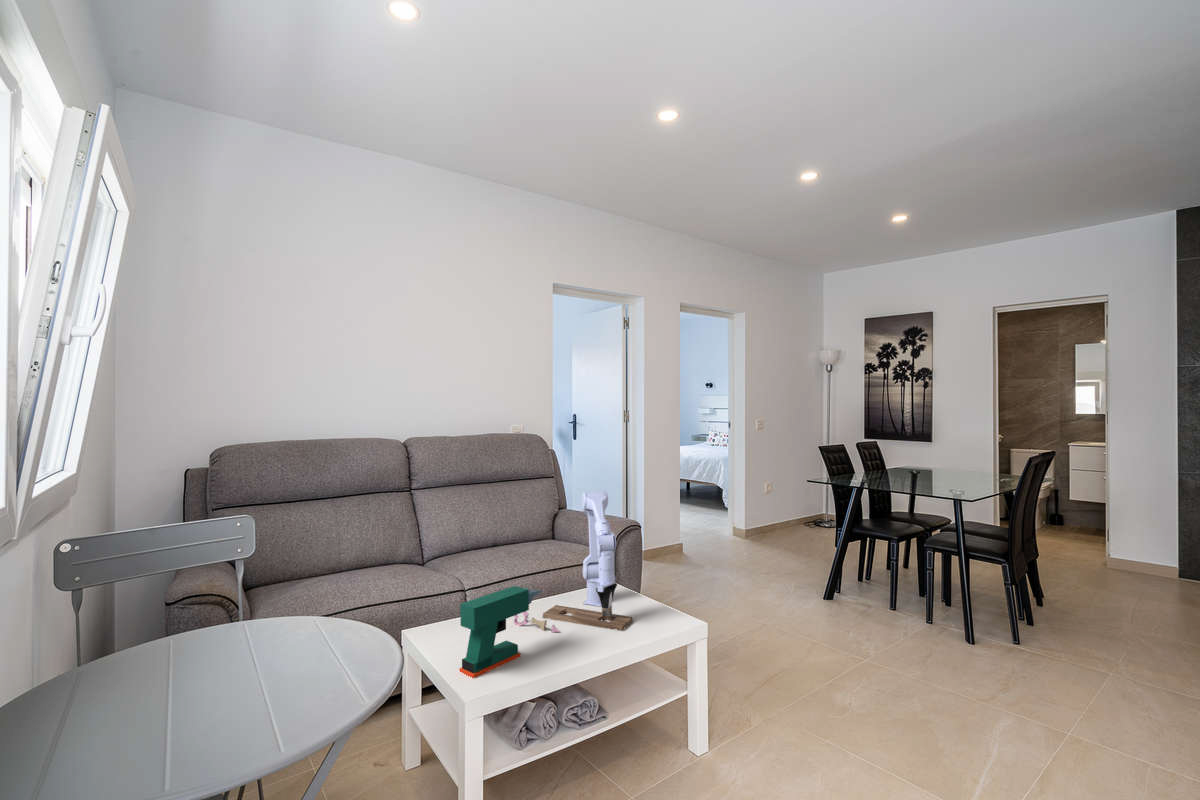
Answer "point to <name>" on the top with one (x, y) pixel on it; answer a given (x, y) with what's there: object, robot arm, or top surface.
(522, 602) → the power tool
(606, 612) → the steel rod
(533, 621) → the decorative key
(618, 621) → the walnut board
